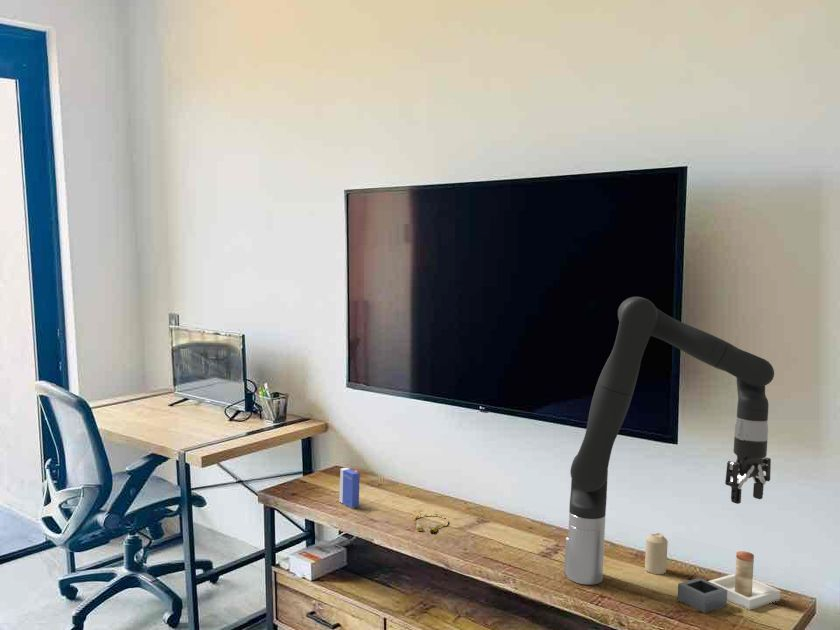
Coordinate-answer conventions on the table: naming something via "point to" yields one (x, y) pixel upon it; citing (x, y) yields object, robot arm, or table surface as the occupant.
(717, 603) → the socket block
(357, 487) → the walkman
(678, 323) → the robot arm
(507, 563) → the table surface
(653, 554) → the candle
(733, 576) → the tray
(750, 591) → the pin
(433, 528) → the beaded necklace
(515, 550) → the table surface
